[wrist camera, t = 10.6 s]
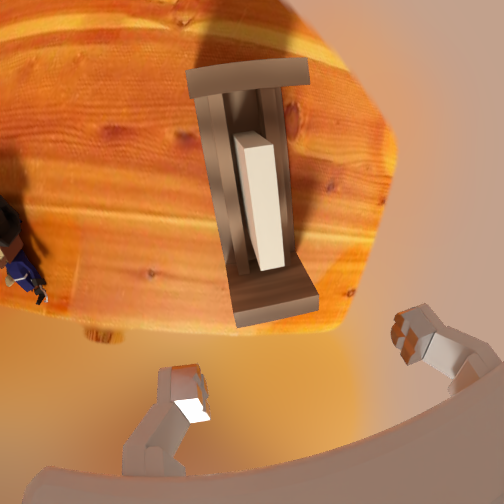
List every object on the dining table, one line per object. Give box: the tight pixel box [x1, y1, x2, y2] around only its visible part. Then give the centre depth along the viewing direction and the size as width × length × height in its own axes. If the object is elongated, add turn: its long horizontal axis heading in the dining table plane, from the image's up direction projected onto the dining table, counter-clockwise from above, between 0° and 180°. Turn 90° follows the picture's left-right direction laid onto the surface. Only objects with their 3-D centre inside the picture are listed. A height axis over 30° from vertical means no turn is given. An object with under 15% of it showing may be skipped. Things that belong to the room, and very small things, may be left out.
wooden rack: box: [185, 58, 319, 328], centre depth 25 cm, size 22×8×9 cm, turn 7°
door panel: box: [233, 131, 285, 271], centre depth 25 cm, size 10×2×8 cm, turn 7°
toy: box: [0, 195, 48, 305], centre depth 26 cm, size 9×6×15 cm
